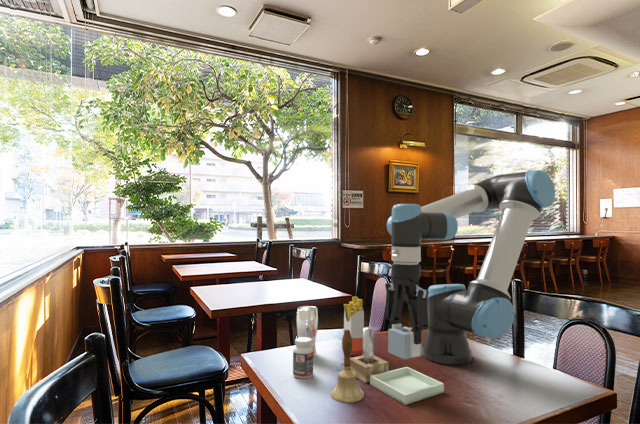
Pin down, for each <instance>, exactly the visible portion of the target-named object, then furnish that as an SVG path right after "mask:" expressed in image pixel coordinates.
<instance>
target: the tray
mask: <svg viewBox="0 0 640 424" xmlns="http://www.w3.org/2000/svg"><path fill="white" fill-rule="evenodd" d="M369 385H370V386H372V387H374V388H376V389H377V390H379V391H381V392H382V393H384V394H385V395H387V396H389V397H391V398H393V399H395V400H396V401H398V402H400V403H401V404H403V405H404V406H406V405H409V404H412V403H416V402H419V401H422V400H425V399H428V398H431V397H435V396H437V395H440V394H443V393H445V384H444V383H443V382H442V381H440V380H437V379H435V378H432V377H431V376H428V375H426V374H424V373H422V372H419V371H417V370H415V369H413V368H411V367H409V366H405V367H401V368H396V369H392V370H389V371H388V372H384V373H380V374H376V375H372V376H370V382H369Z"/></svg>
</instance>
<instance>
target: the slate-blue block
mask: <svg viewBox="0 0 640 424" xmlns="http://www.w3.org/2000/svg"><path fill="white" fill-rule="evenodd" d="M387 329H388V330H387V331H388V334H387V336H388V337H387V339H388V340H387V352H388V353H389V354H391V355H394V356H396V357H398V358H400V359H402V360H408V359H412V357H410V330H411V329H412V327H411V328H410V327H408V326H402V327H399V328H392V329H391V328H387ZM421 340H423V338H422V339H421ZM422 343H423V341H422V342H421V344H420V356H417V357H416V358H418V357H422V356H423V355H422V346H423V344H422Z"/></svg>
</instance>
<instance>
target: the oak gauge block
mask: <svg viewBox="0 0 640 424" xmlns="http://www.w3.org/2000/svg"><path fill="white" fill-rule="evenodd" d="M350 364H351V366H350V367H351V370H352V371H354V372H355V373H356V377H357V379H359V380H360V381H362V382H364V384H365V383H370V376H372V375H376V374H380V373H384V372H388V371H390V370H389V361H386V360H384V359H382V358H381V357H378V356H377V355H374V363H371V364H365V363H363V354H362V355H357V356H353V357H350Z"/></svg>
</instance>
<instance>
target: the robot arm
mask: <svg viewBox="0 0 640 424" xmlns="http://www.w3.org/2000/svg"><path fill="white" fill-rule="evenodd" d="M555 199H556V189H555V185H554V182H553V179H552V178H551V176H550V175H549V174H548V173H547V172H545V171H543V170H540V169H538V170H537V169H536V170H535V169H534V170H530V169H529V170H527V171H520V172H511V173H504V174H502V173H501V174H498V175H497V174H496V175H495V176H492V177H491V176H490V177H488V178H486V179H484V180H482V181H479V182H477V183H473V184H471V185H469V186H468V187H467V188H466V189H465V190H464V191H461V192H458V193H455V194H453V195H450V196H447V197H444V198H442V199H439V200H437V201H434V202H431V203H429V204H426V205H423V206H421V205H420V204H419V203H417V204H416V203H397V204H394V205H393V206H392V208H391V216H389V218H387V221H386V230H387V232H388V234H389V235H390V236H391V261H392V262H393V263H392V262H391V268H390V269H391V271H390V275H391V278H393V281H392V282H387V283H385V311H384V312H385V314H384V317H385V320H388V321H389V323H390V329H392V328H399V327H403V324H402V323H401V322H402V320H401V316H402V310H403V307H404V303H405V304H406V305H407V309H408V314H409V319H410V324H411V330H410V357H412V358H418V357H421V356H420V344H421V342H422V343H423V344H422V356H423V357H424V358H425V359H426V360H429V361H431V362H434V363H439V364H443V365H450V366H451V365H455V366H456V365H465V364H468V363H471V361H472V359H473V356H472V355H473V354H472V350H471V348H470V343H469V340H468V337H467V334H466V332H469V333H472V334H475V335H477V336H479V337H481V338H488V339H499V338H500V337H503V336H505V335H506V334H508V332H509V331H510V329H512V326H513V323H514V321H515V313H514V312H515V308H514V305H513V304H512V302H511V299H512V297H511V296H510V293H509V291H508V290H509V286H510V283H511V280H512V277H513V275H514V272H515V269H516V267H517V264H518V261H519V258H520V255H521V252H522V249H523V247H524V244H525V241H526V239H527V234H528V232H529V229H530V227H531V223H532V221H534V220H536V219H538V218H539V217H540V215H541V211H542V208H543V209H546V208H549V207H551V206H552V205H553V204H554V202H555ZM487 210H500V211H501V213H500V217H499V219H498V222H497V224H496V227H495V230H494V233H493V235H492V239H491V242H489V246H488V249H487V251H486V255H485V257H484V260H483V262H482V265H481V267H480V271H479V273H478V276H477V277H476V279H475V280H472V281H469V284H468V287H467V289H466V286H465V284H463V283H462V284H461V283H449V284H447V283H446V284H445V283H444V284H434V285H433V284H432V285H430V286H429V287H428V289H427V288H426V289H425V288H424V289H423V288H422V287H420V286H421V285H420V282H419V280H420V279H421V276H422V273H421V272H422V269H421V268H422V267H421V264H419V263H421V262H422V257H421V256H422V254H421V251H422V250H421V248H422V247H421V246H422V241H445V240H446V241H447V240H452V239H453V238H454V237H456V235H457V233H458V230H459V229H458V228H459V225H458V220H457V219H459V218H461V217H463V216H466V215H469V214H471V213H474V212H475V213H481V212H484V211H487ZM425 330H427V332H426V335H425V338H424V341H422V340H423V331H425ZM421 339H422V340H421ZM417 356H418V357H417ZM412 358H411V359H412Z"/></svg>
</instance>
